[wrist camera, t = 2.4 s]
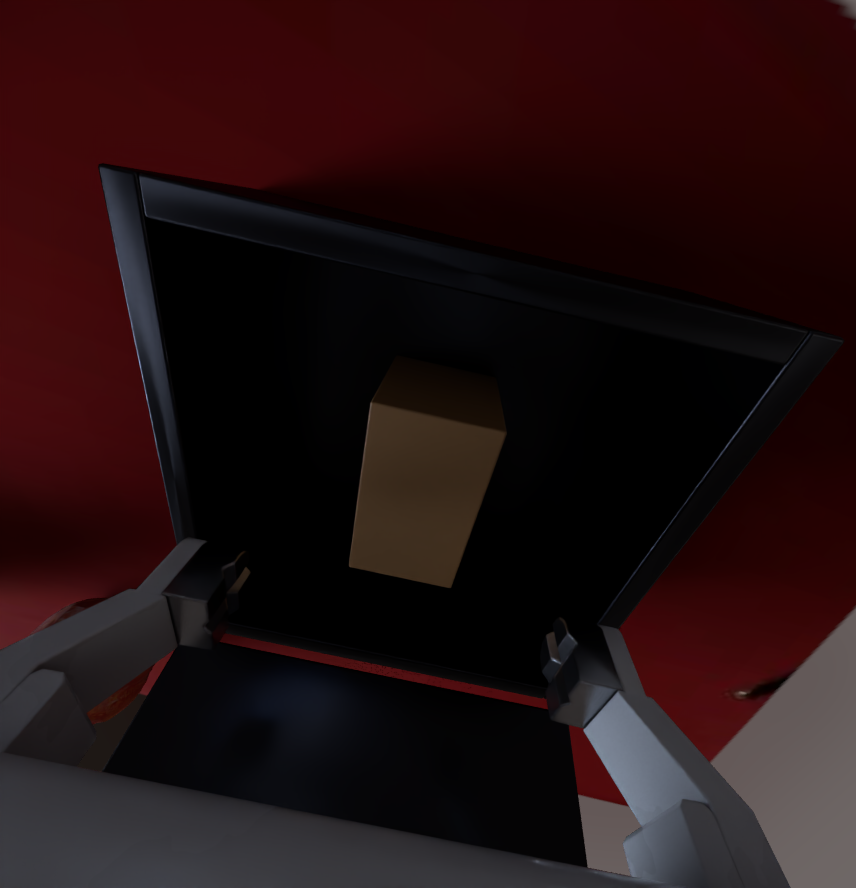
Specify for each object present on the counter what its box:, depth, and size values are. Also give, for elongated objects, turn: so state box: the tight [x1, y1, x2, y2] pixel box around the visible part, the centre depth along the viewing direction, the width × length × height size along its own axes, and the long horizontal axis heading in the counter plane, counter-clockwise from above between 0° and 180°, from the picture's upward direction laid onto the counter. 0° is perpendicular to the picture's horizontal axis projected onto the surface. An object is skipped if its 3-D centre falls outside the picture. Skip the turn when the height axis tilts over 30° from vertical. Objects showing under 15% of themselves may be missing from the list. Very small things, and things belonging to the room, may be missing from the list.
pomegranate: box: [30, 598, 155, 725], centre depth 24 cm, size 7×7×10 cm
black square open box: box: [98, 163, 844, 699], centre depth 14 cm, size 16×16×6 cm
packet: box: [349, 355, 507, 588], centre depth 14 cm, size 7×4×4 cm, turn 169°
